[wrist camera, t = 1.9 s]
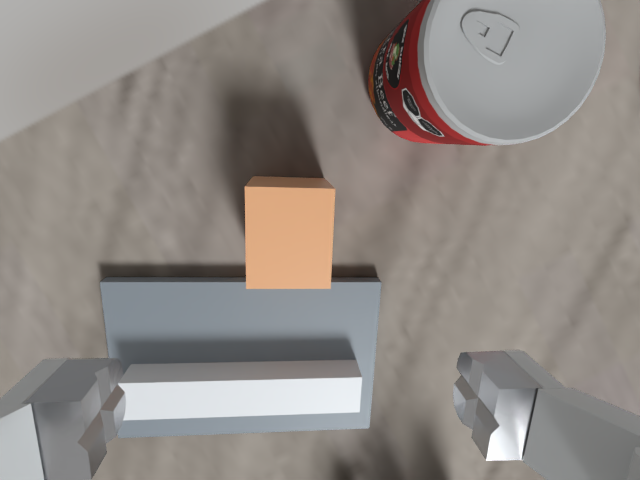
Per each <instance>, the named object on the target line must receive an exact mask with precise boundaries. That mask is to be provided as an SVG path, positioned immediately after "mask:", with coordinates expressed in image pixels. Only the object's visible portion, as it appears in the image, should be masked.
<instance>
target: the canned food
mask: <svg viewBox="0 0 640 480" xmlns="http://www.w3.org/2000/svg"><path fill="white" fill-rule="evenodd" d="M605 39H606V31H605V18H604V13H603V9H602V5H601V1H600V0H422V1H421V2H420V3H419V4H418V5H417V6H416V7H415V8H414V9H413V10H412V11H411V12H410V13H409V14H408V15H407V16H406V17H405V18H404V19H403V20H402V22H401V23H400V24H399V25H398V26H397V27H396V28H395V29H394V30H393V31H392V32H391V33H390V34H389V35H388V36H387V37H386V38H385V39H384V41H383V42H382V43H381V44H380V45H379V47H378V49H377V51H376V53H375V55H374V57H373V60H372V63H371V66H370V71H369V78H368V84H369V94H370V98H371V102H372V105H373V107H374V110H375V112H376V114H377V116H378V117H379V118H380V120H381V121H382V123H383V124H384V125H385V126H386V127H387V128H388V129H389V130H390V131H392V132H393V133H395V134H396V135H398V136H400V137H401V138H404V139H407V140H409V141H413V142H420V143H437V144H461V145H511V144H517V143H523V142H527V141H530V140H534V139H538V138H540V137H542V136H544V135H546V134H548V133H550V132H552V131H554V130H555V129H556V128H558V127H559V126H560V125H562V124H563V123H565V122H566V121H567V120H568V119H569V118H570V117H571V116H572V115H573V114H574V113H575V112H576V111H577V110H578V109H579V108H580V107H581V105H582V104H583V102H584V101H585V99H586V98H587V96H588V95H589V93H590V92H591V90H592V88H593V85H594V83H595V81H596V79H597V77H598V75H599V71H600V68H601V64H602V60H603V57H604V49H605Z"/></svg>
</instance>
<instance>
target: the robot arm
mask: <svg viewBox="0 0 640 480" xmlns="http://www.w3.org/2000/svg"><path fill="white" fill-rule="evenodd" d="M457 369H458V371H459V372H460V374H461V376H460V377H459V379H458V380H457V381H456V382H455V383H454V391H453V399H454V406H455V409H456V412H457V415H458V417H459V418H460V420H461V422H462V423H463V424H464V425H466V426H467V427H469V428H471V429H472V430H473V432H472V439H473V441H474V442H475V444H476V445H477V447H478V448H479V450H480V451H481V453H482V455H483V456H484V458H485V459H486V460H523V462H524V463H525V464H527V465H528V466H529V467H531V468H532V469H533V470H535V471H536V472H537V473H539V474H540V475H541V476H543V477H544V478H545V479H547V480H640V416H638V415H636V414H634V413H631V412H629V411H626V410H624V409H622V408H619V407H617V406H614V405H612V404H610V403H607V402H605V401H603V400H600V399H598V398H595V397H593V396H591V395H588V394H586V393H583V392H581V391H579V390H576V389H574V388H565V387H564V386H563V385H562V384H561V383H560V382H559V381H557V380H556V379H555V378H554V377H553V376H552V375H550V374H549V373H548V372H547V371H546V370H545V369H544V368H542V367H541V366H540V365H539V364H538V363H537V362H535V361H534V360H533V359H532V358H531V357H530V356H529V355H527V354H526V353H525V352H524V351H521V350H505V351H485V352H464V353H461V354H460V356H459V358H458V362H457ZM122 376H123V370H122V363H121V361H120V360H119V359H118V358H49V359H44V360H42V361H41V362H40V363H39V364H38V365H37V366H36V367H35V368H33V369H32V370H31V371H30V372H29V373H28V374H27V375H26V376H25V377H24V378H22V379H21V380H20V381H19V382H18V383H17V384H16V385H15V386H14V387H13V388H11V389H10V390H9V391H8V392H7V393H6V394H5V395H4V396H3V397H1V398H0V480H92V478H93V476H94V474H95V473H96V471H97V469H98V467H99V466H100V464H101V462H102V460H103V459H104V457H105V455H106V453H107V451H106V443H107V442H109V441H110V440H112V439H113V438H115V437H116V436H117V434H118V432H119V430H120V428H121V426H122V422H123V419H124V415H125V408H126V397H125V392H124V391H123V390H122V388H121V387H120V386H119V385H118V382H119V381H120V379H121V378H122Z"/></svg>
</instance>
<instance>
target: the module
mask: <svg viewBox="0 0 640 480" xmlns="http://www.w3.org/2000/svg"><path fill="white" fill-rule="evenodd" d="M334 206H335V188H334V187H333V186H332V185H331V184H330V183H329V182H328V181H327V180H326V179H324V178H301V177H265V176H253V177H252V178H251V179H250V181H249V182H248V183H247V184H246V186H245V243H246V289H331V270H332V249H333V228H334Z"/></svg>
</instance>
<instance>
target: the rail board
mask: <svg viewBox="0 0 640 480" xmlns="http://www.w3.org/2000/svg"><path fill="white" fill-rule="evenodd" d="M100 287H101V296H102V304H103V312H104V321H105V329H106V338H107V346H108V355H109V358H118V359H119V360H120V361H121V363H122V370H123V376H122V378H121V379H120V381H119V382H118V385H119V386H120V387H121V388H122V390H123V391H124V392H125V397H126V408H125V415H124V419H123V422H122V426H121V428H120V430H119V432H118V438H131V437H157V436H183V435H208V434H234V433H260V432H286V431H311V430H337V429H363V428H369V426H370V414H371V402H372V390H373V377H374V365H375V353H376V341H377V329H378V317H379V305H380V293H381V281H380V279H379V278H351V277H331V289H246V277H106V278H105V279H103V280H102V281H101V282H100Z"/></svg>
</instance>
